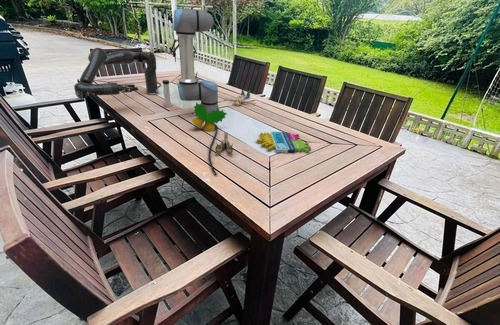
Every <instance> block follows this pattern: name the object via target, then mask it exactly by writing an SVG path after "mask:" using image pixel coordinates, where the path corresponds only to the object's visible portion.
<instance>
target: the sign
mask: <svg viewBox="0 0 500 325" xmlns="http://www.w3.org/2000/svg"><path fill="white" fill-rule="evenodd" d="M299 136H300V135H299V134H298V133H296V134H294V133H291V132H287V131H270V132H264V133H263V132H260V133H259V139H258V138H257V139H256V143H257V144H261V148H263V147H264V148H265V149H267V151H268V152H271V151H272V150H273V149H275V152H276V153H283V154H285V153H287V154H288V153H290V154H293V153H296V152H298V153H301V152H305V153H310V151H311V150H312V149H311V148H312V146H309V142H304V141H303V139H302V138H299Z"/></svg>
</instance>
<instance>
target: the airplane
mask: <svg viewBox="0 0 500 325" xmlns="http://www.w3.org/2000/svg"><path fill="white" fill-rule="evenodd" d="M194 75H195V79H196V80H197V83H200V81H201V80H204V78H198V71H196V73H195V74H194ZM180 79H181V78H177V80H178V81H179V80H180Z"/></svg>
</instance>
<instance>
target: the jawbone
mask: <svg viewBox="0 0 500 325" xmlns="http://www.w3.org/2000/svg"><path fill="white" fill-rule="evenodd" d="M223 135H224V136H223V140H222V139H221V142H220V144H218V142H215V144H216V146H215V148H214V149H215V152H214V154H215V155H217V156H218V155H220V153H221V152H223V151H224V150H226V152H227V153H228V155H229V156H233V155H234V154H233V153H234V148H233V144H234V143H230V140H228V139H229V138H228V137H229V136H228V135H229V133H228V131H226V132H224V134H223Z"/></svg>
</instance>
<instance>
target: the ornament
mask: <svg viewBox="0 0 500 325" xmlns="http://www.w3.org/2000/svg"><path fill="white" fill-rule="evenodd" d="M219 110H220V108H219V109H217V110H216V111H214V110H212V112H211V113H208V112H206V109H204V106H201V103H198V102H196V101H195V105H194V106H193V112H194V113H195V118H192V119H191V122H192V123H193V125H195V127H197V128H198V129H202V130H203V131H206V132H212V131H213V132H214V131H216V126H215V125H214V124H218V123H219V122H223V119H226V115H227V114H228V113H227V112H224V110H223V109H221V110H220V111H219ZM207 113H208V115H207ZM213 123H214V124H213Z"/></svg>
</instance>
